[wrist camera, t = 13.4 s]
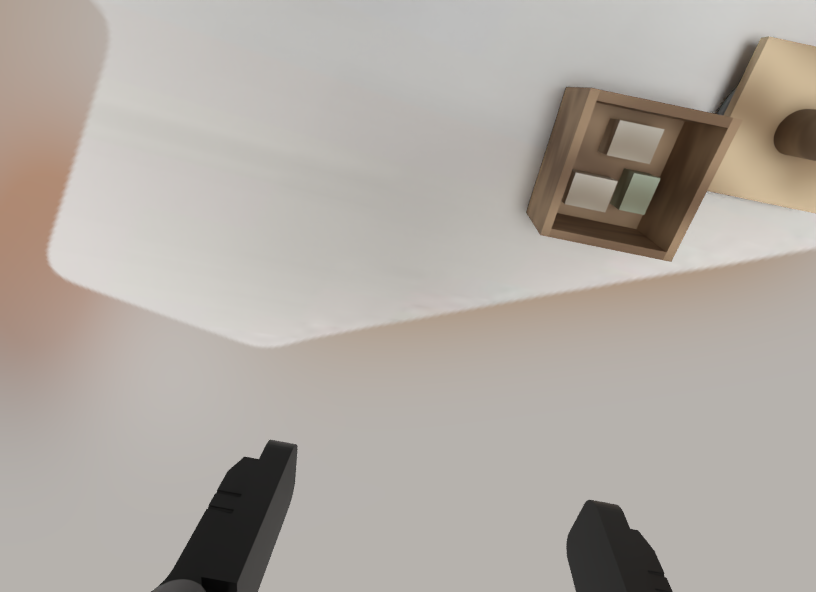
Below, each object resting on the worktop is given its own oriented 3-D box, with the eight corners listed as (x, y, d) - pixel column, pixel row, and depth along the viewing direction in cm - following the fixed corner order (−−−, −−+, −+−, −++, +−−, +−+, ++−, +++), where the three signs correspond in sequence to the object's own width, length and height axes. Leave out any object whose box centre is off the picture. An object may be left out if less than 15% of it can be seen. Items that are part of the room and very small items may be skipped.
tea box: (566, 87, 32) (590, 87, 26) (692, 113, 32) (742, 119, 26) (526, 212, 36) (540, 235, 30) (637, 235, 36) (671, 261, 31)
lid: (751, 39, 29) (825, 28, 23) (890, 69, 29) (997, 65, 23) (682, 183, 33) (731, 203, 28) (804, 208, 33) (877, 233, 28)
